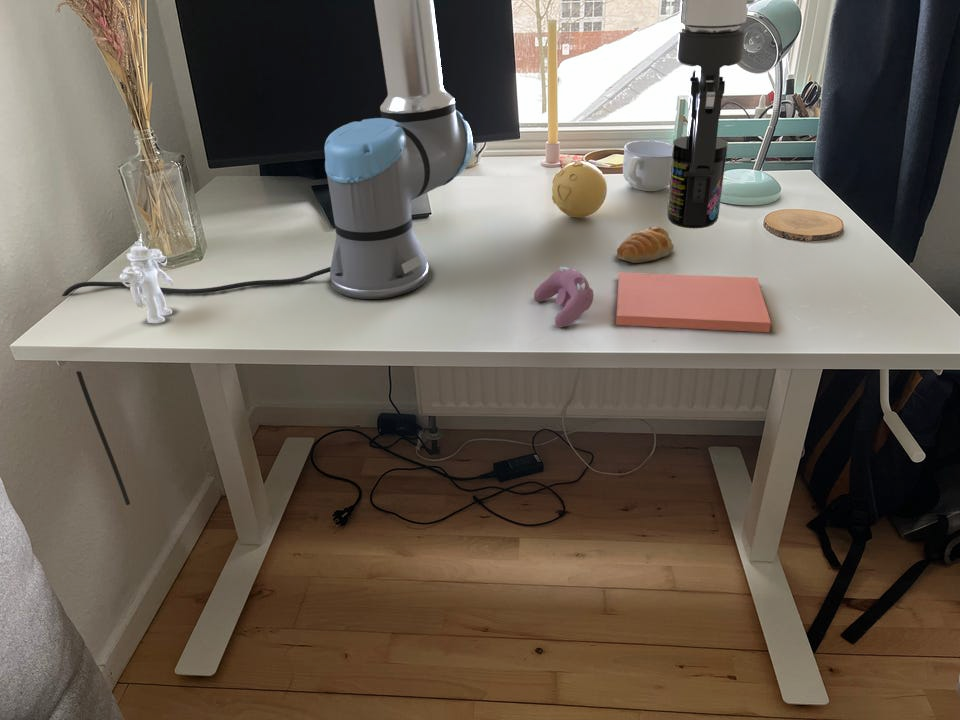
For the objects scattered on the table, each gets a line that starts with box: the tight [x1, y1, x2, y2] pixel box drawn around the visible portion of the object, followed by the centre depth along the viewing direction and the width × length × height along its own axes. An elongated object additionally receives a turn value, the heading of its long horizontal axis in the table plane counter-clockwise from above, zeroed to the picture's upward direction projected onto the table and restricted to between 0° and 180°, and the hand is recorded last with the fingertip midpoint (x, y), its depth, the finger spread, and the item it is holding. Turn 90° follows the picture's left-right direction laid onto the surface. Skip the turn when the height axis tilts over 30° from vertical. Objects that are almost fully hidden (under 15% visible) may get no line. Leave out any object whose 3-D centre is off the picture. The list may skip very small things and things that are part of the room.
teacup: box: [622, 140, 673, 192], centre depth 149 cm, size 14×11×8 cm
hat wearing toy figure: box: [119, 233, 174, 324], centre depth 108 cm, size 9×4×12 cm, turn 170°
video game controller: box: [533, 266, 595, 328], centre depth 106 cm, size 10×5×7 cm, turn 17°
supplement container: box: [666, 135, 729, 230], centre depth 98 cm, size 7×7×10 cm
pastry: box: [616, 226, 675, 264], centre depth 122 cm, size 9×7×4 cm
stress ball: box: [551, 160, 608, 218], centre depth 137 cm, size 10×10×10 cm
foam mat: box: [615, 272, 772, 333], centre depth 107 cm, size 20×14×2 cm
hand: (692, 213), depth 101 cm, fingers closed on supplement container, 7 cm apart
